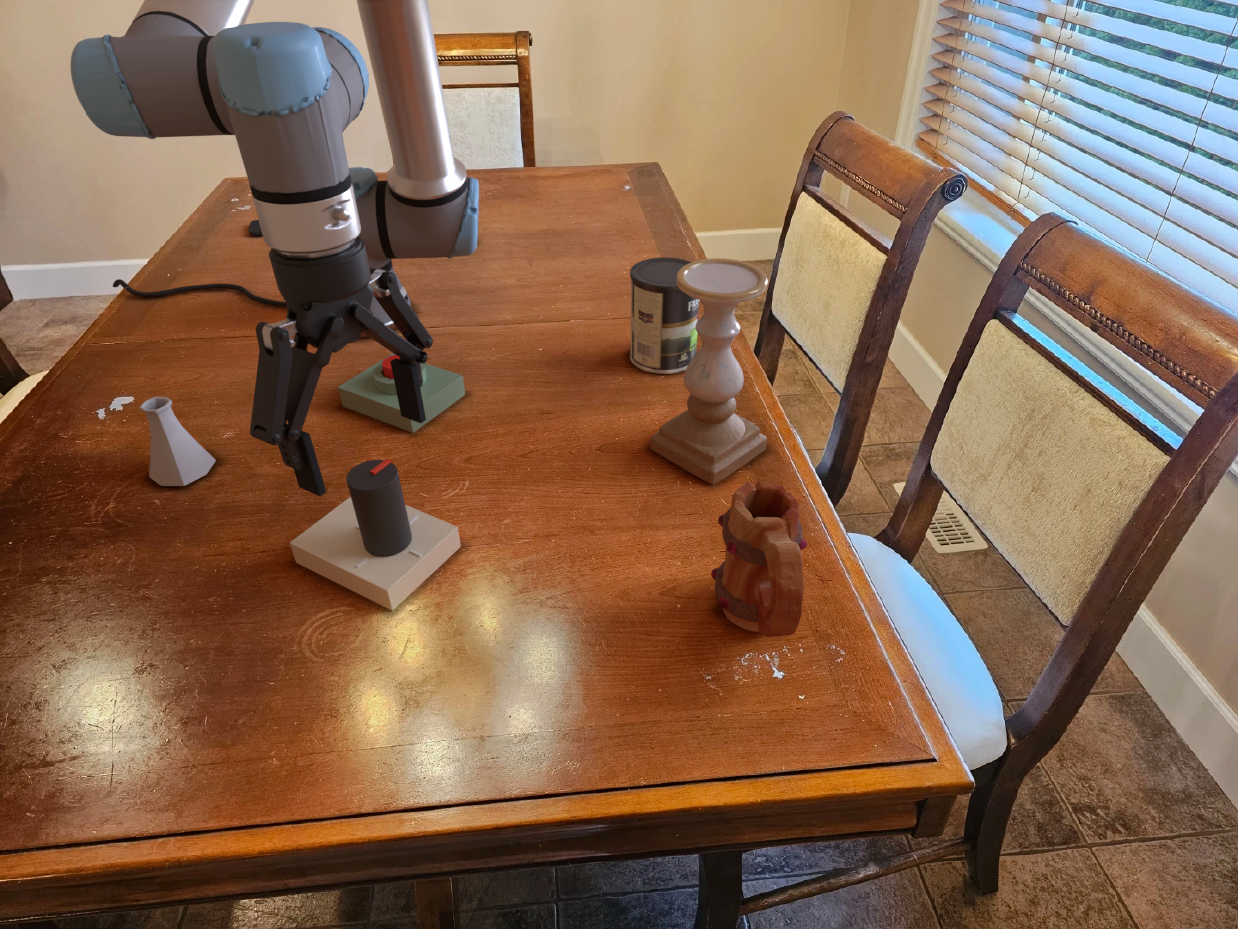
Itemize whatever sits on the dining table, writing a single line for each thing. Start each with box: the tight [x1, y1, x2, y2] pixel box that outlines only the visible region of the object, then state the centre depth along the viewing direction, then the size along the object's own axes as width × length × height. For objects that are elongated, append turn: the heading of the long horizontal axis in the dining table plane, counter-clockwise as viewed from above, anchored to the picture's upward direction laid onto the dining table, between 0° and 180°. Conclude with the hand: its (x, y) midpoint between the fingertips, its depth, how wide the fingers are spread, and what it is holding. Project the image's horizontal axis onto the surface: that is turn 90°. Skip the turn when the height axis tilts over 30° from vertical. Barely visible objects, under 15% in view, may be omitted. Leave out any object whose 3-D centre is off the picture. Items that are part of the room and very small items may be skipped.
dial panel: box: [289, 496, 462, 612], centre depth 87 cm, size 14×11×3 cm
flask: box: [139, 396, 217, 487], centre depth 97 cm, size 7×7×10 cm
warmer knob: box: [345, 458, 412, 557], centre depth 82 cm, size 5×5×9 cm
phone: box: [248, 219, 263, 237], centre depth 164 cm, size 7×1×15 cm
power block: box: [337, 352, 466, 434], centre depth 111 cm, size 13×11×5 cm
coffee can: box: [629, 256, 701, 375], centre depth 117 cm, size 10×10×14 cm
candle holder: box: [649, 257, 769, 485], centre depth 96 cm, size 11×11×24 cm
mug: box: [710, 480, 808, 638], centre depth 75 cm, size 15×8×15 cm, turn 5°
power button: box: [382, 355, 400, 379], centre depth 109 cm, size 4×4×2 cm
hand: (366, 452), depth 78 cm, fingers open, 13 cm apart
